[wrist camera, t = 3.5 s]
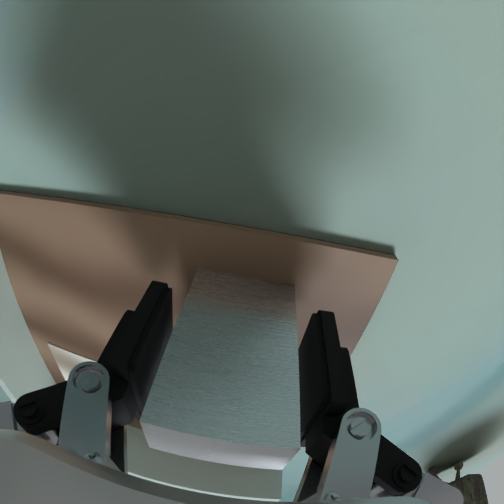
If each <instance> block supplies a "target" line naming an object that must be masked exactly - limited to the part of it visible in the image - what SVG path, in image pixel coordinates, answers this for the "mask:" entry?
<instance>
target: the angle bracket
mask: <svg viewBox="0 0 504 504" xmlns="http://www.w3.org/2000/svg"><path fill="white" fill-rule="evenodd" d="M140 424H141V427H142V430H143V432H144V435H145V438H146V440H147V443H148V445H149V448H153V449H156V450H160V451H164V452H168V453H172V454H176V455H180V456H185V457H189V458H194V459H199V460H204V461H210V462H215V463H221V464H228V465H235V466H243V467H251V468H261V469H274V470H282V469H283V468H284V467H285V466H286V464H287V463H288V462H289V461H290V460H291V459H292V458H293V457H294V455H295V454H296V453H297V452H298V451H299V450H300V389H299V359H298V336H297V317H296V299H295V285H292V284H286V283H280V282H274V281H268V280H262V279H257V278H251V277H245V276H239V275H234V274H228V273H223V272H217V271H212V270H206V269H201V268H198V269H197V272H196V274H195V276H194V279H193V281H192V284H191V286H190V289H189V291H188V293H187V296H186V298H185V301H184V303H183V306H182V308H181V311H180V313H179V316H178V318H177V321H176V323H175V326H174V329H173V331H172V334H171V336H170V339H169V341H168V344H167V347H166V349H165V352H164V355H163V357H162V360H161V362H160V365H159V368H158V371H157V373H156V376H155V379H154V381H153V384H152V387H151V390H150V393H149V395H148V398H147V401H146V404H145V407H144V409H143V412H142V415H141V418H140Z"/></svg>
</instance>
